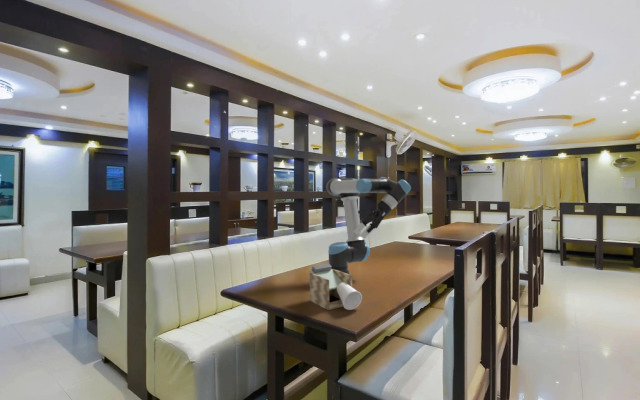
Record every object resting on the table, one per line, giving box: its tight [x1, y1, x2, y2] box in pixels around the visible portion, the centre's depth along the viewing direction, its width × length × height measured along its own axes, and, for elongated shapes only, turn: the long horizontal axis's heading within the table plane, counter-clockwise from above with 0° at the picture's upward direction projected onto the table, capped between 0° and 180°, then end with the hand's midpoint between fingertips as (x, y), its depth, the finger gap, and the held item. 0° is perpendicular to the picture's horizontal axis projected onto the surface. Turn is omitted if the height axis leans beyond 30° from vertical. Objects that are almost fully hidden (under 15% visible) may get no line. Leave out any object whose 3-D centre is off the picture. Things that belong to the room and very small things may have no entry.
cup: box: [337, 282, 363, 311], centre depth 149 cm, size 10×10×11 cm
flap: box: [309, 262, 343, 290], centre depth 158 cm, size 15×12×3 cm
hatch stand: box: [309, 269, 353, 311], centre depth 156 cm, size 16×15×14 cm
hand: (358, 235), depth 161 cm, fingers open, 13 cm apart
